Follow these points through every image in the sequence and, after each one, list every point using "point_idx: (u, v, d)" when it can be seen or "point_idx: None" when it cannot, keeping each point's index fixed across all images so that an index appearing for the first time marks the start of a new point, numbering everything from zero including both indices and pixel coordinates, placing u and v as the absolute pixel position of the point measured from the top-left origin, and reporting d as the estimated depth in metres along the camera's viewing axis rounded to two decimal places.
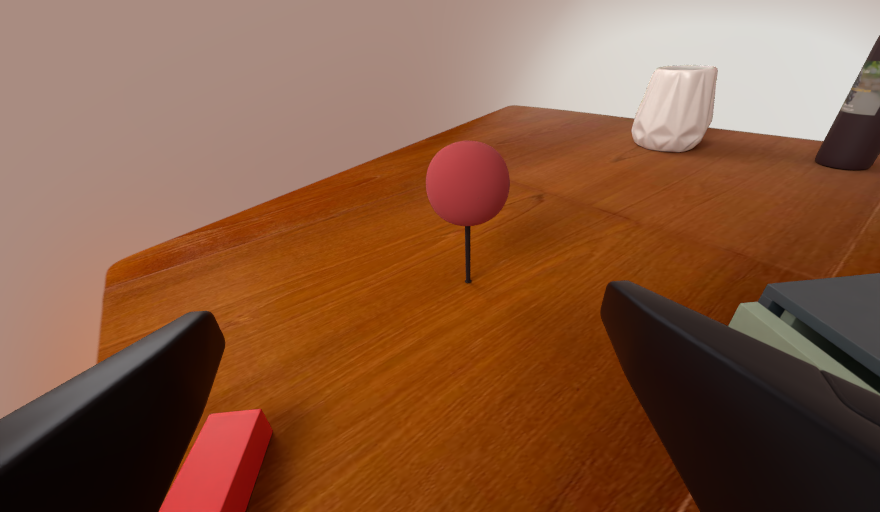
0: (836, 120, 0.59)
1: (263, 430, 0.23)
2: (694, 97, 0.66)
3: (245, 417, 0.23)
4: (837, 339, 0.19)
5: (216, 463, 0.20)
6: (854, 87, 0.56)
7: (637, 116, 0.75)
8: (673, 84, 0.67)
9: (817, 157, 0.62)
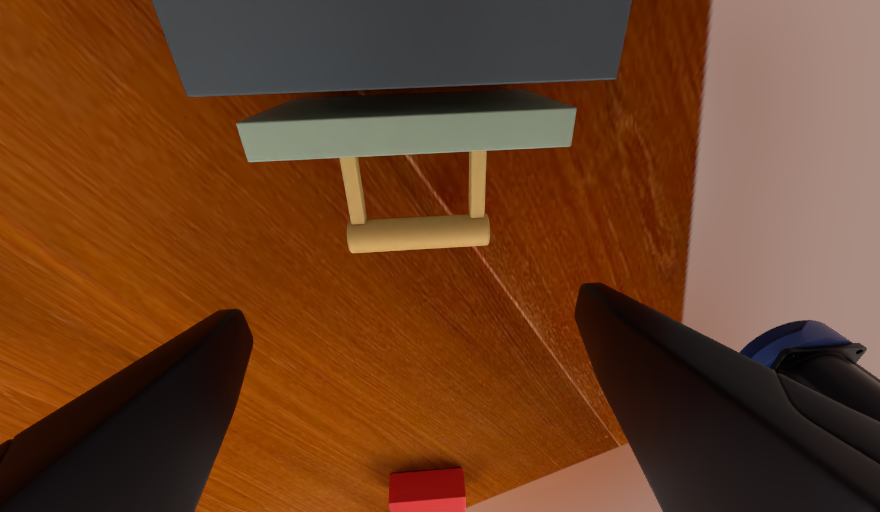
0: None
1: (397, 487, 0.32)
2: None
3: (395, 507, 0.32)
4: (364, 88, 0.10)
5: (427, 507, 0.32)
6: None
7: None
8: None
9: None
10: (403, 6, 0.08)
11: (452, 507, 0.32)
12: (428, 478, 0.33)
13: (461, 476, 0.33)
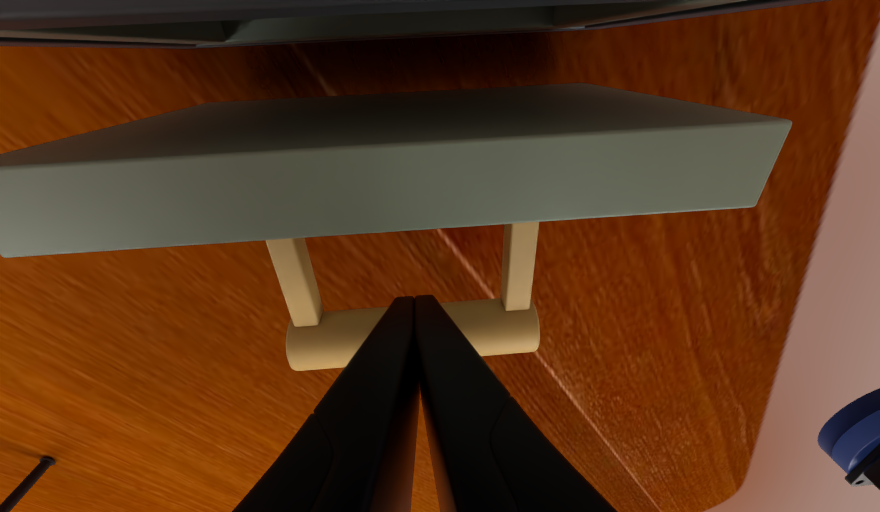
0: None
1: None
2: None
3: None
4: (227, 16, 0.03)
5: None
6: None
7: None
8: None
9: None
10: None
11: None
12: None
13: None
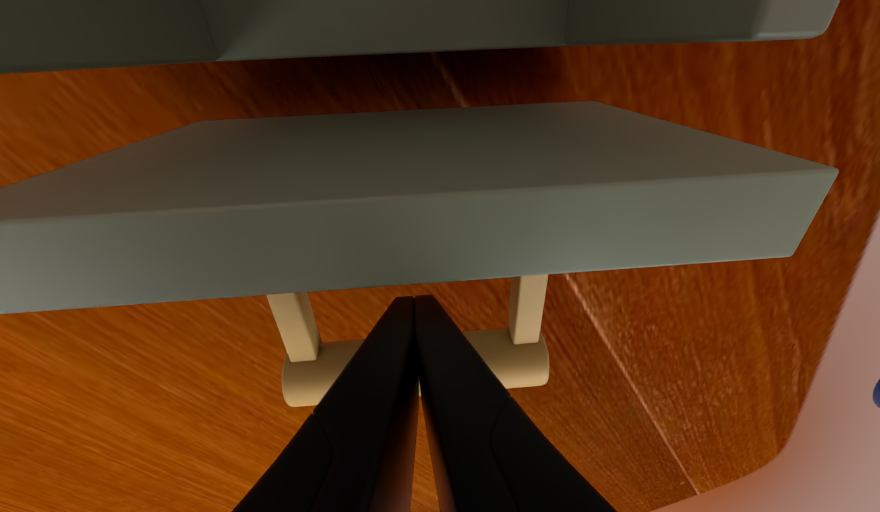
0: None
1: None
2: None
3: None
4: None
5: None
6: None
7: None
8: None
9: None
10: None
11: None
12: None
13: None
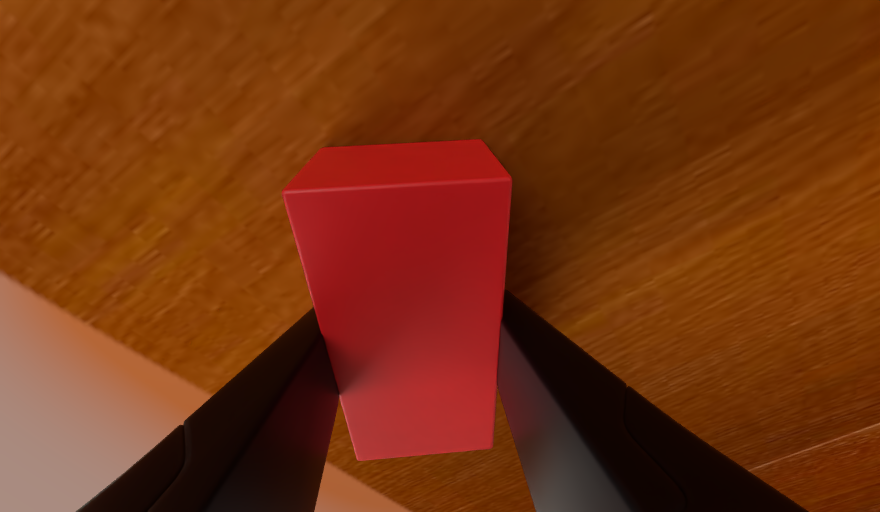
0: None
1: None
2: None
3: (458, 216, 0.05)
4: None
5: (430, 352, 0.07)
6: None
7: None
8: None
9: None
10: None
11: (421, 425, 0.08)
12: None
13: None
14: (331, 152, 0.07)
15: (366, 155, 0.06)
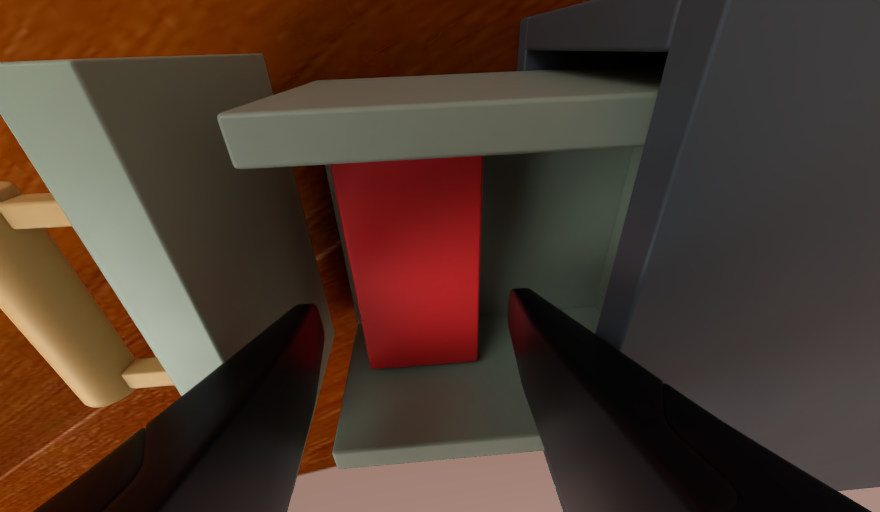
0: None
1: None
2: None
3: (446, 161, 0.08)
4: (614, 304, 0.06)
5: (427, 271, 0.09)
6: None
7: None
8: None
9: None
10: (706, 364, 0.06)
11: (421, 337, 0.10)
12: None
13: None
14: None
15: None
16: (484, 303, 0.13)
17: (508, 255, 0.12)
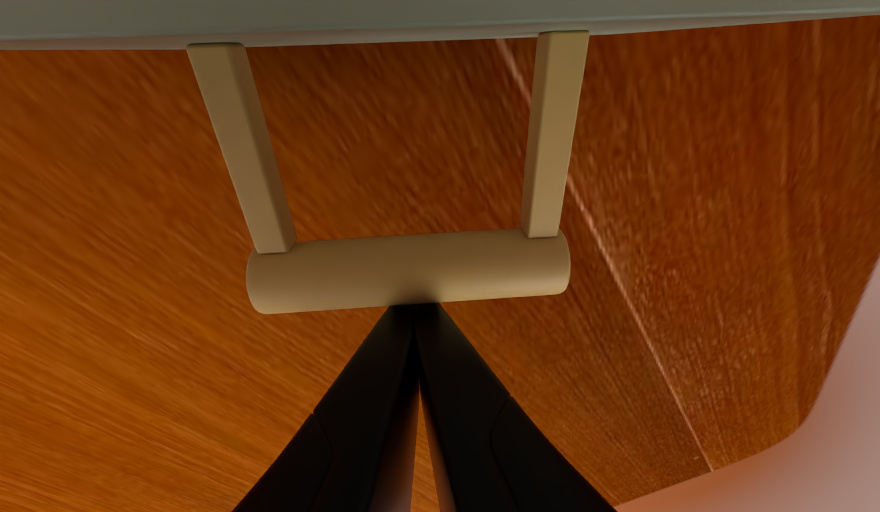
0: None
1: None
2: None
3: None
4: None
5: None
6: None
7: None
8: None
9: None
10: None
11: None
12: None
13: None
14: None
15: None
16: None
17: None
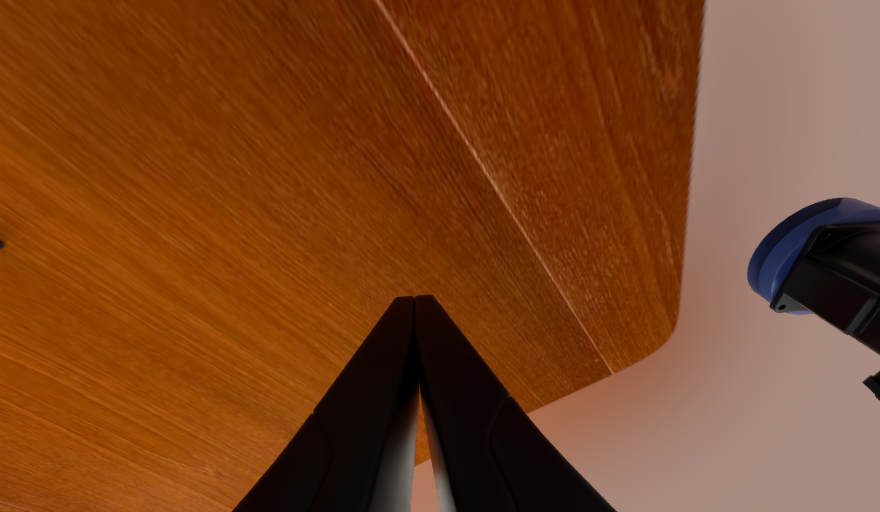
0: None
1: None
2: None
3: None
4: None
5: None
6: None
7: None
8: None
9: None
10: None
11: None
12: None
13: None
14: None
15: None
16: None
17: None
